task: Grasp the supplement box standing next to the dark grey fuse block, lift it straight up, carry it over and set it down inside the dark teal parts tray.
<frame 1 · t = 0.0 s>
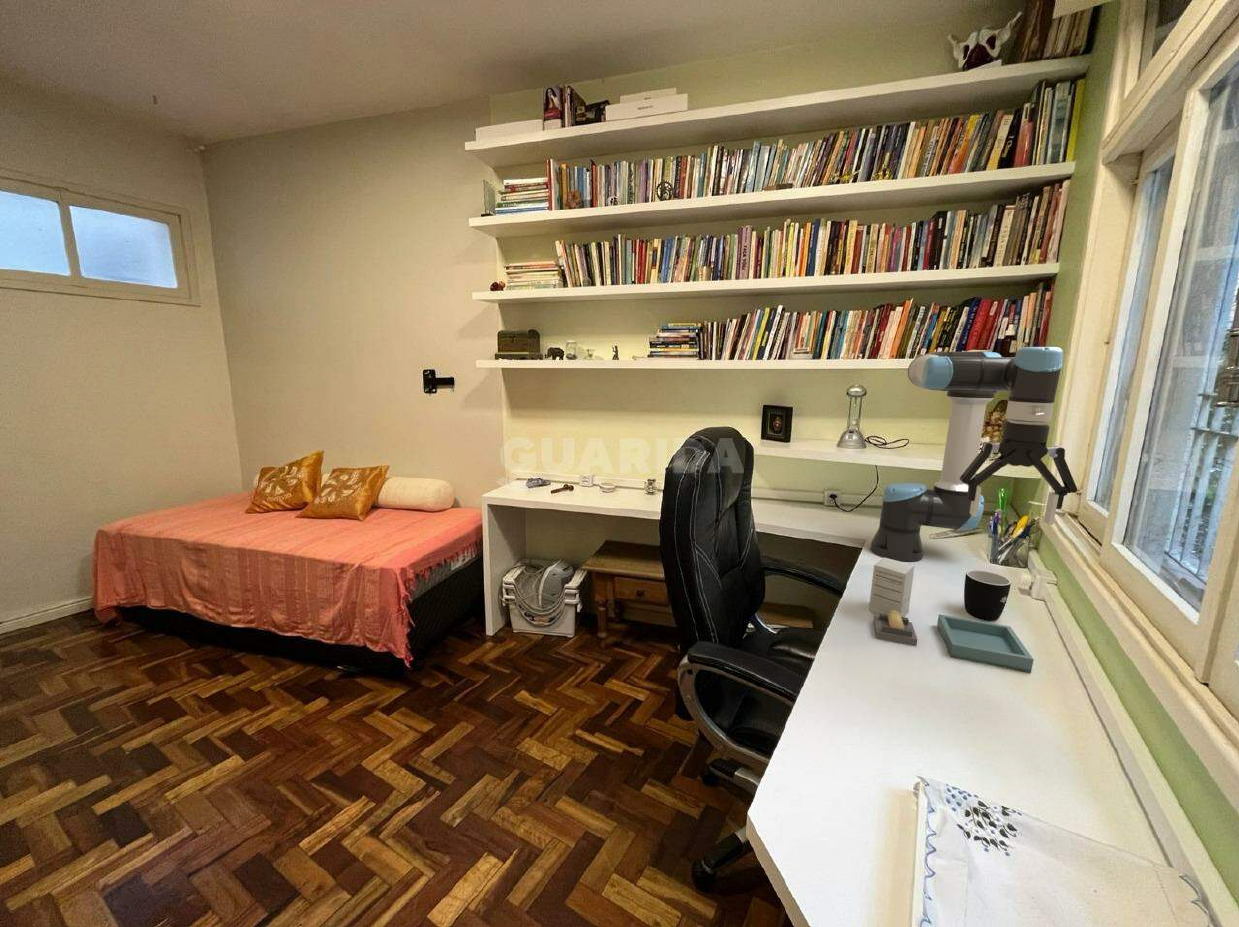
hand: (1009, 518, 110), 28 cm above the table, fingers open, 13 cm apart
fuse block: (893, 633, 116), on the table
parts tray: (980, 647, 111), on the table
supplement box: (888, 612, 126), on the table
mug: (982, 613, 126), on the table
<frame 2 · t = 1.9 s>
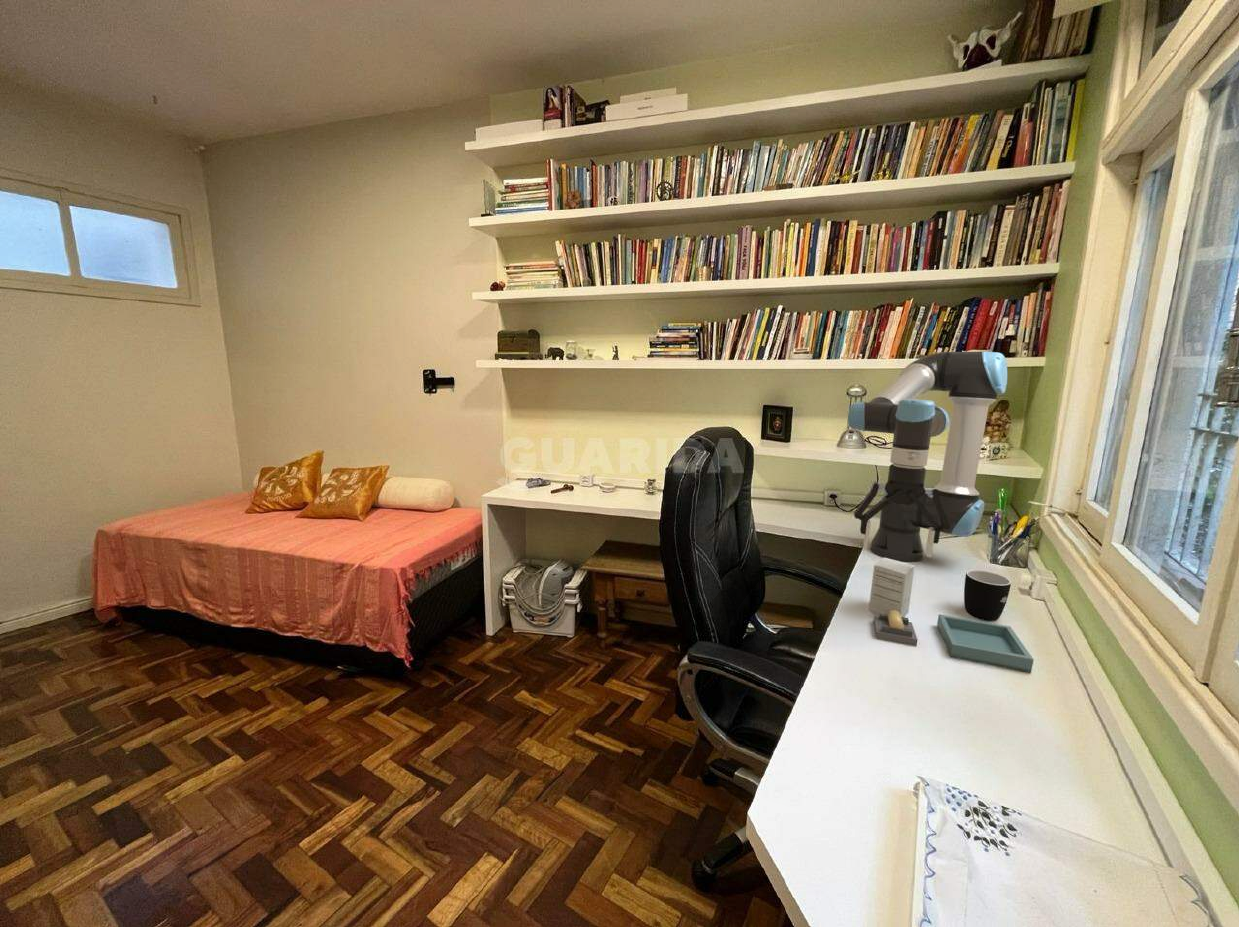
hand: (896, 551, 122), 16 cm above the table, fingers open, 13 cm apart
nothing on the table moved.
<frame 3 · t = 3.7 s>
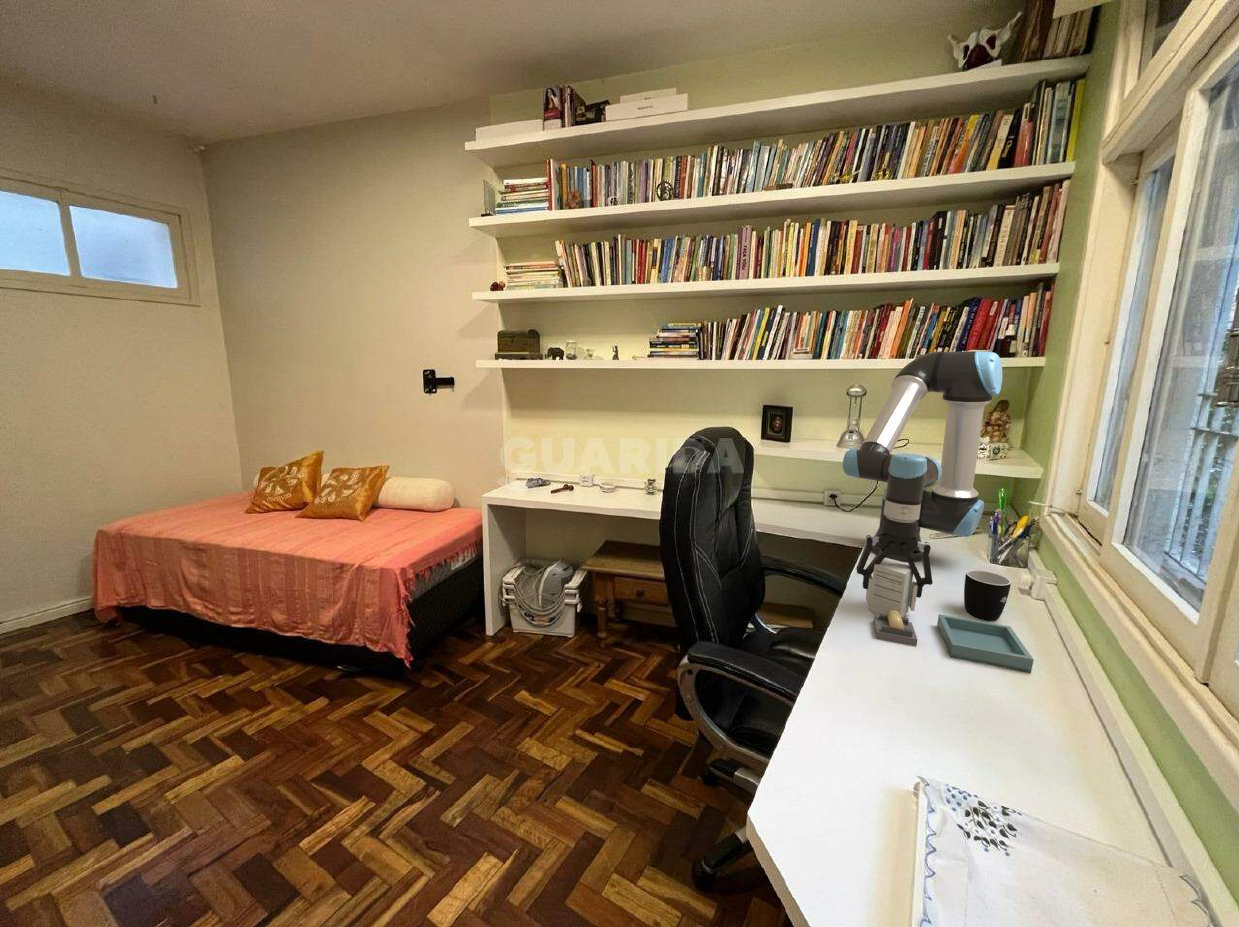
hand: (889, 604, 125), 2 cm above the table, fingers closed on supplement box, 9 cm apart
supplement box: (888, 612, 126), on the table, touching gripper
everything else where it was.
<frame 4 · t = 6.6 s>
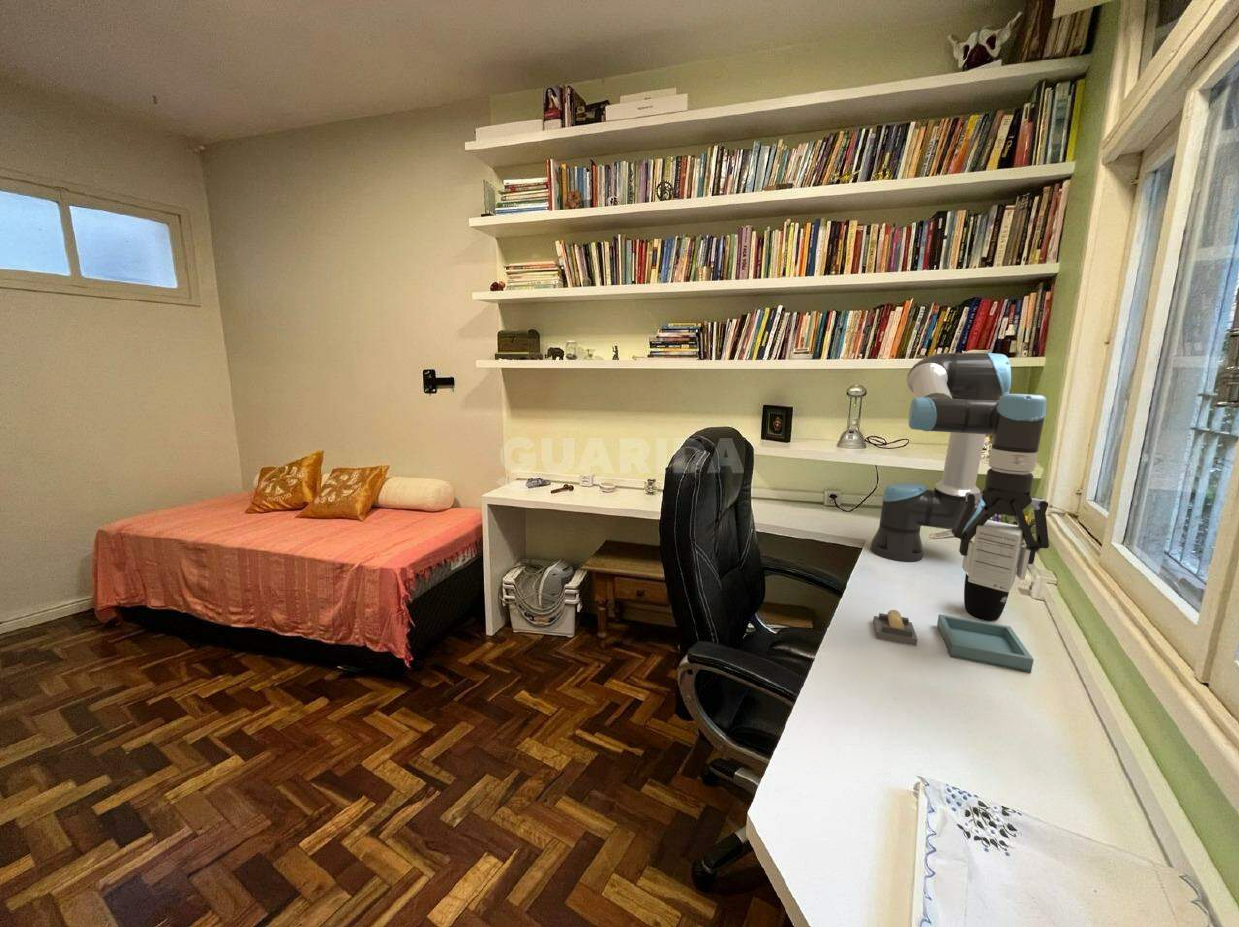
hand: (992, 573, 107), 17 cm above the table, fingers closed on supplement box, 9 cm apart
supplement box: (990, 583, 108), point 15 cm above the table, touching gripper
everything else where it was.
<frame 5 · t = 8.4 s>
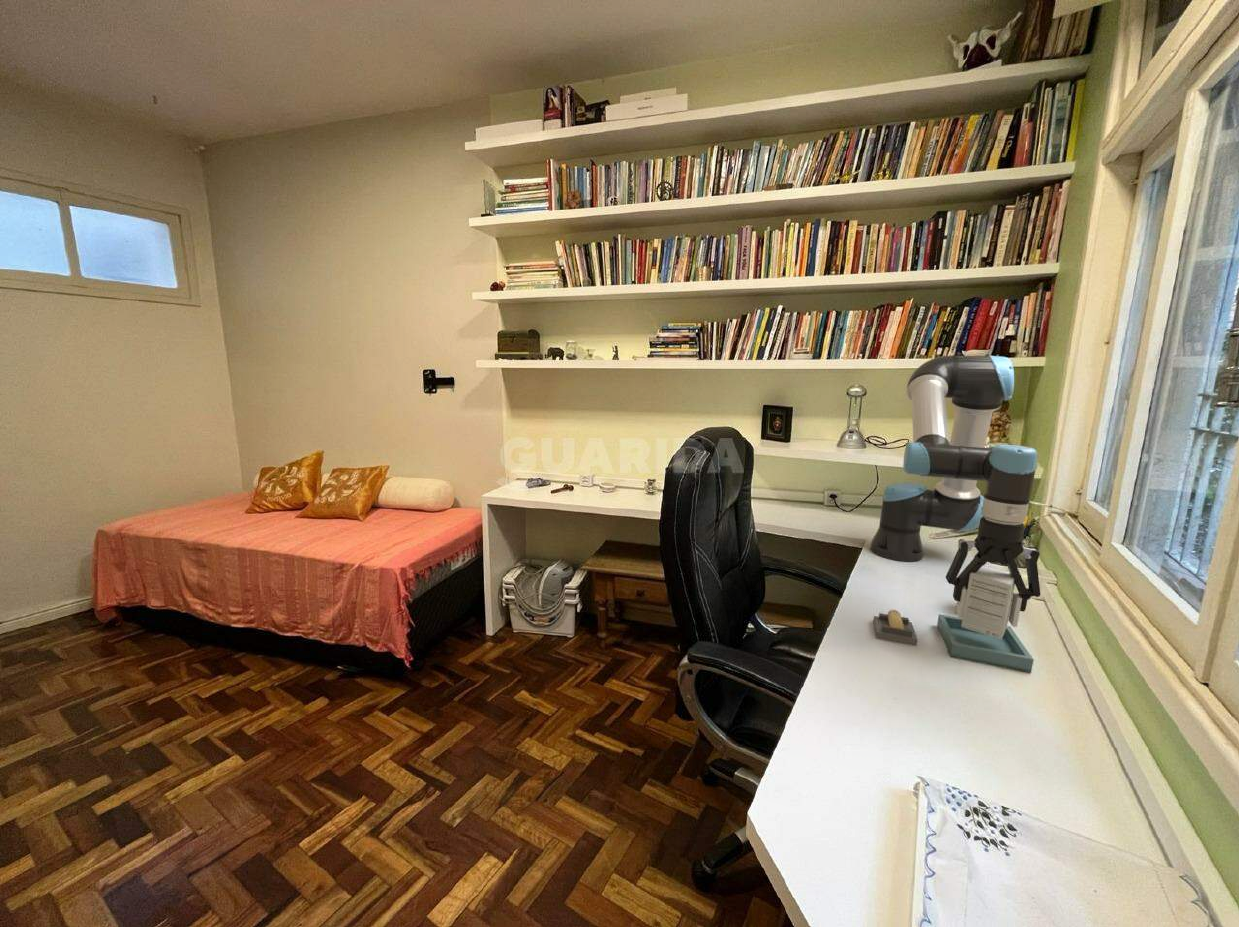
hand: (985, 618, 109), 7 cm above the table, fingers closed on supplement box, 9 cm apart
supplement box: (983, 628, 110), point 5 cm above the table, touching gripper
everything else where it was.
when the fingers open (4 cm above the table, at t = 10.0 s): supplement box stays where it is, resting on parts tray.
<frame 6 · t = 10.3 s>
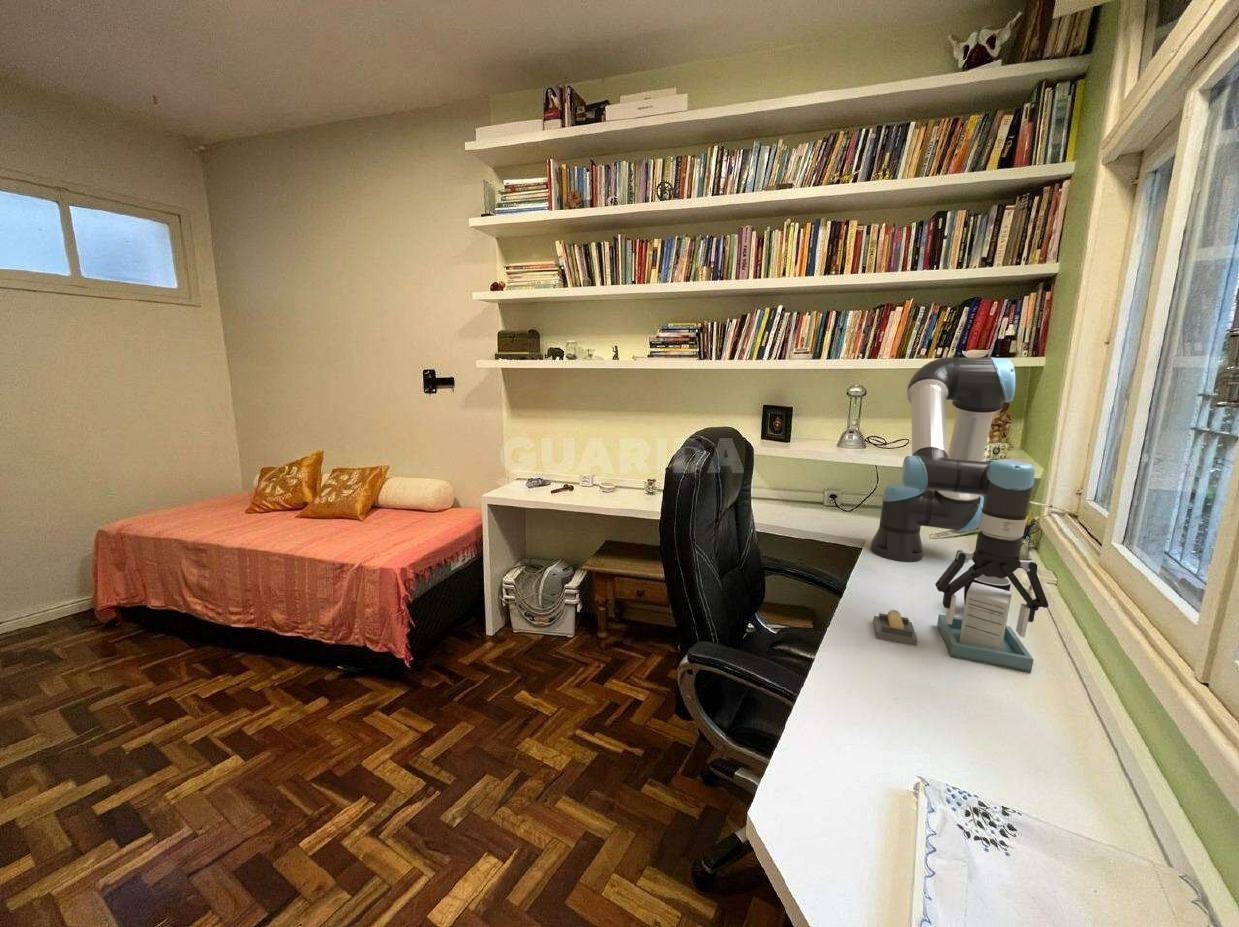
hand: (983, 627, 110), 5 cm above the table, fingers open, 12 cm apart
supplement box: (980, 645, 111), resting on parts tray
everything else where it was.
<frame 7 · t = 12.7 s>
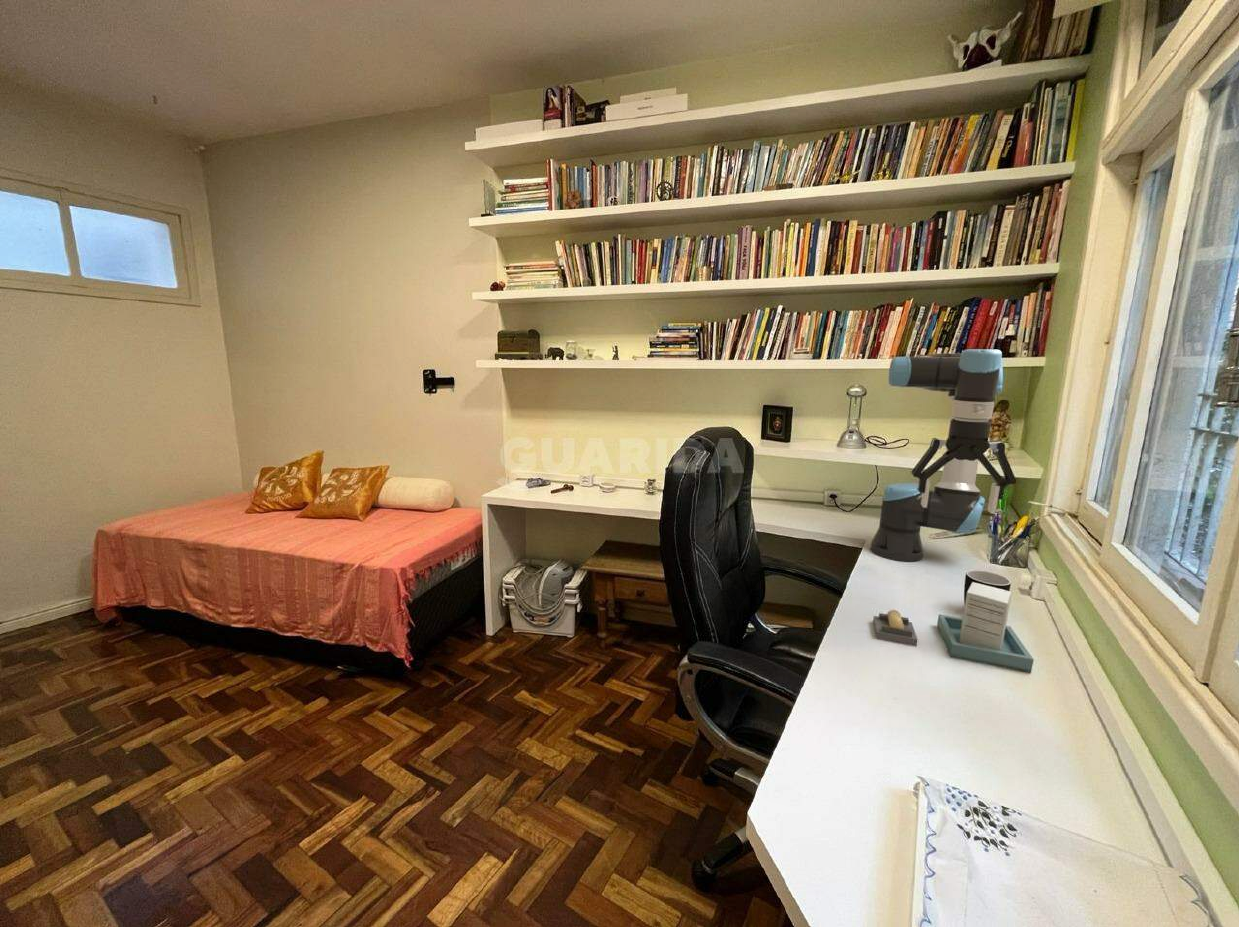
hand: (956, 509, 118), 28 cm above the table, fingers open, 13 cm apart
nothing on the table moved.
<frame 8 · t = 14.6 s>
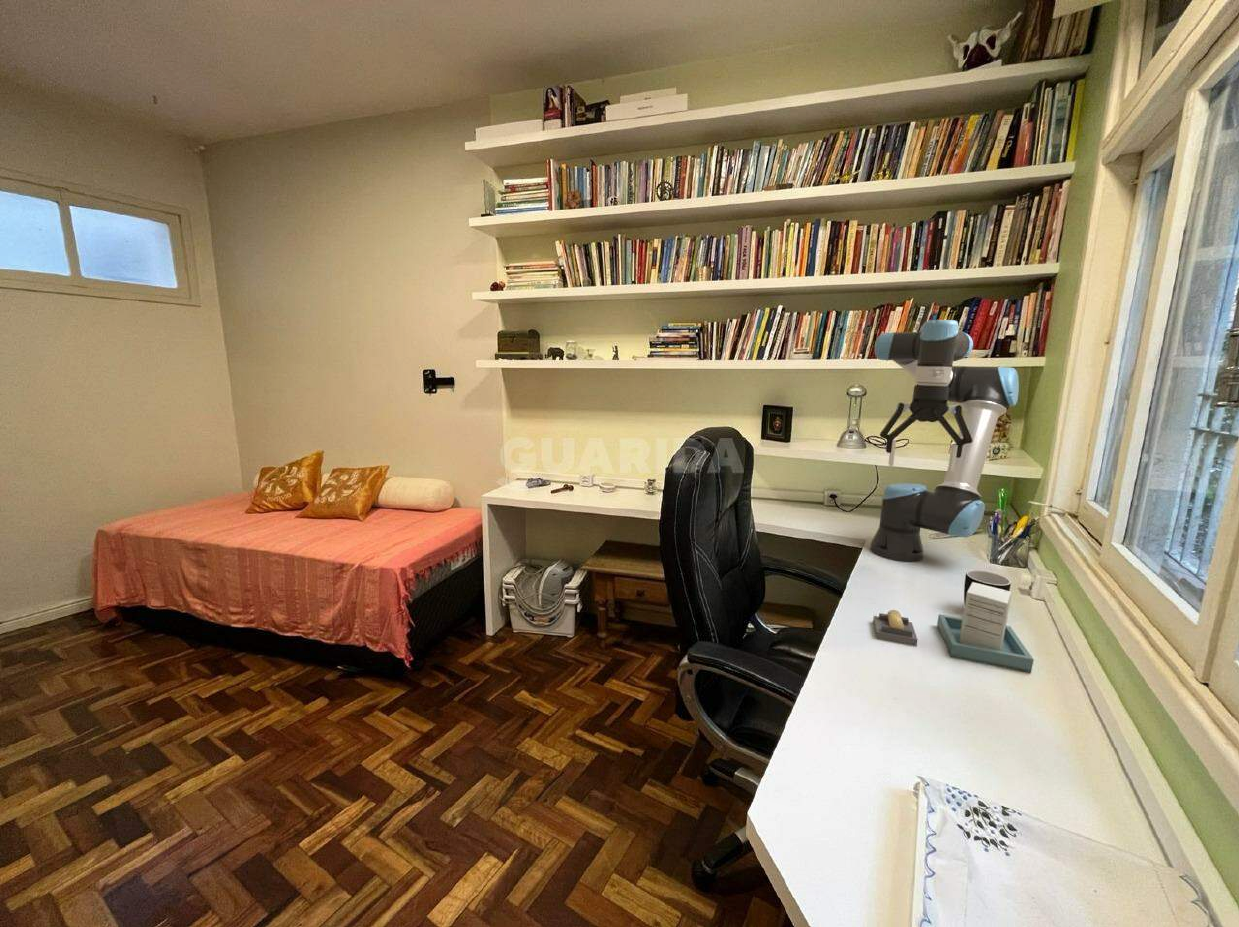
hand: (920, 467, 130), 35 cm above the table, fingers open, 13 cm apart
nothing on the table moved.
at the end: supplement box inside the target area on the parts tray (0.0 cm from its centre), point 0.4 cm above the parts tray's base; the gripper is holding nothing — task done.
